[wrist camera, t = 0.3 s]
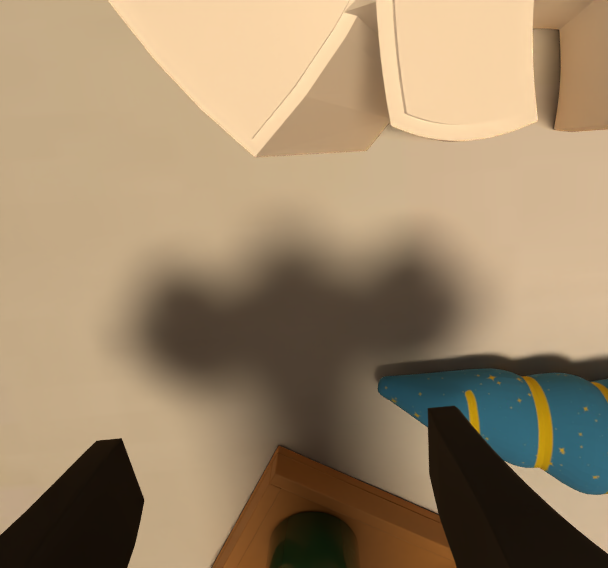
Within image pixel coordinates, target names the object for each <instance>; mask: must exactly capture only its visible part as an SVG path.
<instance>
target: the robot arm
mask: <svg viewBox="0 0 608 568" xmlns="http://www.w3.org/2000/svg"><path fill="white" fill-rule="evenodd" d="M428 442H429V474H430V479H431V483H432V488H433V492H434V496H435V501H436V505H437V509H438V513H439V517H440V520H441V523H442V526H443V529H444V532H445V535H446V538H447V541H448V544H449V547H450V550H451V552H452V555H453V558H454V561H455V564H456V567H457V568H608V554H607V553H606V552H605V551H603V550H602V549H601V548H599V547H598V546H597V545H596V544H594V543H593V542H592V541H591V540H589V539H588V538H587V537H586V536H584V535H583V534H582V533H581V532H580V531H578V530H577V529H576V528H575V527H573V526H572V525H571V524H570V523H569V522H568V521H566V520H565V519H564V518H563V517H562V516H561V515H560V514H558V513H557V512H556V511H555V510H554V509H553V508H552V507H551V506H549V505H548V504H547V503H546V502H545V501H544V500H543V499H542V498H541V497H540V496H539V495H538V494H537V493H535V492H534V491H533V490H532V489H531V488H530V487H529V486H528V485H527V484H526V483H525V482H524V481H523V480H522V479H521V478H520V477H519V476H518V475H517V474H516V473H515V472H514V471H513V470H512V469H511V468H510V467H509V466H508V465H507V464H506V462H505V461H504V460H503V459H502V458H501V457H500V456H499V455H498V454H497V453H496V452H495V451H494V450H493V449H492V448H491V446H490V445H489V444H488V443H487V442H486V441H485V440H484V439H483V437H482V436H481V435H480V434H479V433H478V432H477V430H476V429H475V428H474V427H473V426H472V424H471V423H470V422H469V421H468V420H467V418H466V417H465V416H464V415H463V413H462V412H461V411H460V410H459V409H458V408H457V407H456V406H444V407H434V408H428ZM143 505H144V498H143V495H142V492H141V490H140V487H139V484H138V482H137V479H136V476H135V473H134V471H133V468H132V465H131V462H130V460H129V457H128V454H127V452H126V449H125V446H124V443H123V441H122V438H120V439H110V440H100V441H96V442H95V443H94V444H93V445H92V446H91V447H90V448H89V449H88V450H87V451H86V452H85V453H84V454H83V455H82V456H81V457H80V458H79V459H78V460H77V461H76V462H75V463H74V464H73V465H72V466H71V467H70V468H69V469H68V470H67V471H66V472H65V473H64V474H63V475H62V476H61V477H60V478H59V479H58V480H57V481H56V482H55V483H54V484H53V485H52V486H51V487H50V488H49V489H48V490H47V491H46V492H45V493H44V494H43V495H42V496H41V497H40V498H39V499H38V500H37V501H36V502H35V503H34V504H33V505H32V506H31V507H30V508H29V509H28V510H27V511H26V512H25V513H24V514H23V515H22V516H21V517H19V518H18V519H17V520H16V521H15V522H14V523H13V524H12V525H11V526H10V527H9V528H8V529H7V530H5V531H4V532H3V533H2V534H1V535H0V568H127V567H128V564H129V561H130V558H131V555H132V552H133V549H134V546H135V542H136V538H137V533H138V529H139V525H140V520H141V515H142V510H143Z"/></svg>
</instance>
